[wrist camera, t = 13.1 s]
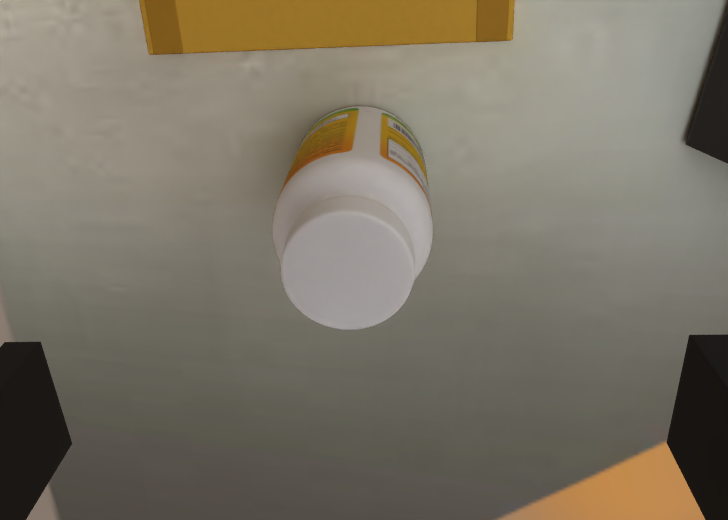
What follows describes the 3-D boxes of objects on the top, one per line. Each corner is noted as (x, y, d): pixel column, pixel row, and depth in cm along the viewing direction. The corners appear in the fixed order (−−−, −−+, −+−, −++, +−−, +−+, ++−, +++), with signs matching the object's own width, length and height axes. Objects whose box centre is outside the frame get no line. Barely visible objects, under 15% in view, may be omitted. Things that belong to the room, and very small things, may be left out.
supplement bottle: (289, 213, 30) (246, 335, 21) (306, 92, 27) (265, 172, 19) (410, 235, 30) (417, 364, 21) (437, 116, 28) (458, 207, 19)
